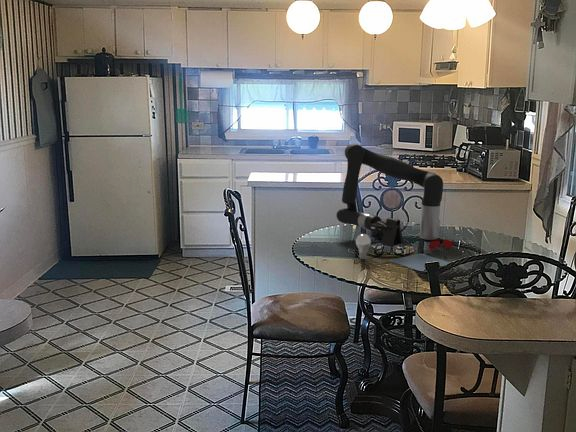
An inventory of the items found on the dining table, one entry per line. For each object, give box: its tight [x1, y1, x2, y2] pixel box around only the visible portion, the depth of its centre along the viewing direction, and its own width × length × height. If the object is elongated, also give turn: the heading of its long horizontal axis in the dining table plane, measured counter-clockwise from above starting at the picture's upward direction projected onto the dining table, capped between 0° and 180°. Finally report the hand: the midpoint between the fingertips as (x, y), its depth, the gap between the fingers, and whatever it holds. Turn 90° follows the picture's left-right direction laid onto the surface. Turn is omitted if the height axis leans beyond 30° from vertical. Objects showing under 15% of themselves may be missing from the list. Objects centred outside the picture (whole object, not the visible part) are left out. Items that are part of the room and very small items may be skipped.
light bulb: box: [355, 233, 372, 261], centre depth 267 cm, size 7×7×12 cm
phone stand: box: [380, 217, 405, 248], centre depth 276 cm, size 9×6×12 cm, turn 129°
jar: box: [369, 218, 387, 238], centre depth 310 cm, size 10×10×8 cm
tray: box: [389, 252, 450, 271], centre depth 264 cm, size 20×20×1 cm
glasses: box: [427, 239, 473, 261], centre depth 280 cm, size 14×16×5 cm
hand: (395, 229), depth 275 cm, fingers closed on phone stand
